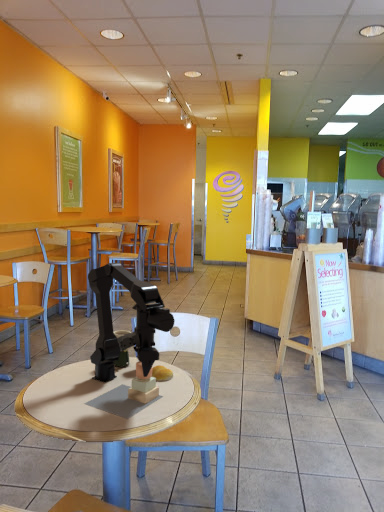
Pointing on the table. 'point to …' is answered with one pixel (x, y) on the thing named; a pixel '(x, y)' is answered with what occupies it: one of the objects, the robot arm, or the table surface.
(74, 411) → the table surface
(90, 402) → the mat
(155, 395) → the tower base
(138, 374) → the peach gumdrop
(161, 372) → the bread roll
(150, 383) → the tower top
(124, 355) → the character mug
